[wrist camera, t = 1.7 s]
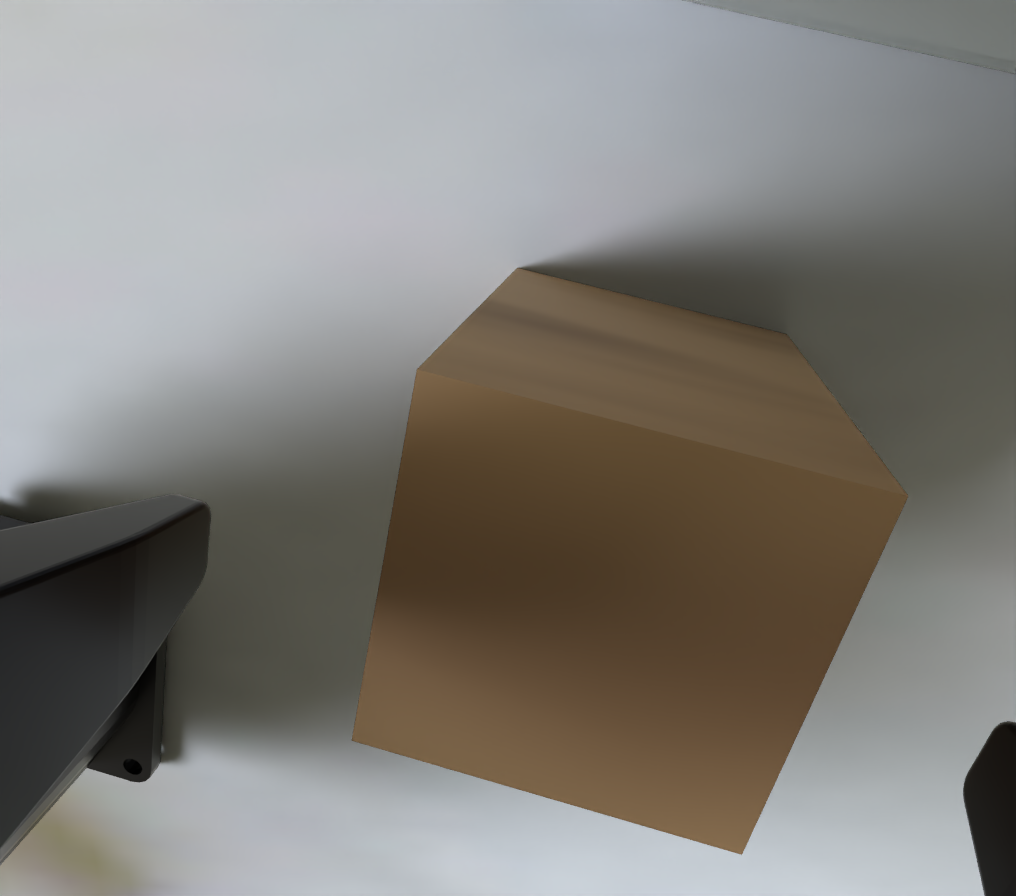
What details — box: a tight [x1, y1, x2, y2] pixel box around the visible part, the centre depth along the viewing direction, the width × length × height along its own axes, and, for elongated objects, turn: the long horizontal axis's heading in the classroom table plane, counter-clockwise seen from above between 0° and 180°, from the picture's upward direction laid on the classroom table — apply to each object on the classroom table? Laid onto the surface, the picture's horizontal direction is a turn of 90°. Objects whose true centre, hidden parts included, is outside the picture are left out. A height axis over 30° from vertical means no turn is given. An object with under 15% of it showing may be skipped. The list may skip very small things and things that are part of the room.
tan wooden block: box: [352, 268, 908, 855], centre depth 12 cm, size 5×5×7 cm
